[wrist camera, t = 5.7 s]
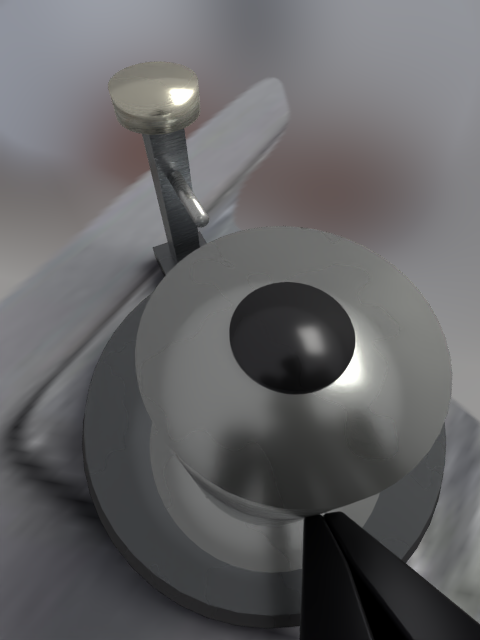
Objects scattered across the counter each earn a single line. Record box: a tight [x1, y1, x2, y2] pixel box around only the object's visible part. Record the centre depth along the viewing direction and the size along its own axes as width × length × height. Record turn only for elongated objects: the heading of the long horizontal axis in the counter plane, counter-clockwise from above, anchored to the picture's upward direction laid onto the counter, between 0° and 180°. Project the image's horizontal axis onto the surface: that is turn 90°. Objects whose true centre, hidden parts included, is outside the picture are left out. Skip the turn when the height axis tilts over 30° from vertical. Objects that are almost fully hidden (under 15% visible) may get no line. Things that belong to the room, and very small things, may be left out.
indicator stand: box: [108, 62, 209, 276], centre depth 17 cm, size 5×3×10 cm, turn 26°
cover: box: [135, 226, 452, 573], centre depth 10 cm, size 8×8×9 cm
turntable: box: [82, 293, 446, 628], centre depth 16 cm, size 16×16×2 cm
